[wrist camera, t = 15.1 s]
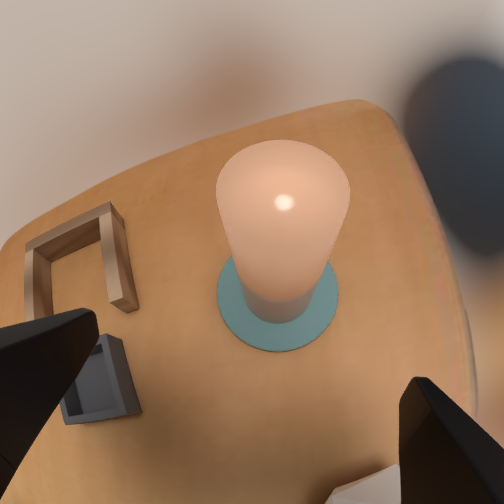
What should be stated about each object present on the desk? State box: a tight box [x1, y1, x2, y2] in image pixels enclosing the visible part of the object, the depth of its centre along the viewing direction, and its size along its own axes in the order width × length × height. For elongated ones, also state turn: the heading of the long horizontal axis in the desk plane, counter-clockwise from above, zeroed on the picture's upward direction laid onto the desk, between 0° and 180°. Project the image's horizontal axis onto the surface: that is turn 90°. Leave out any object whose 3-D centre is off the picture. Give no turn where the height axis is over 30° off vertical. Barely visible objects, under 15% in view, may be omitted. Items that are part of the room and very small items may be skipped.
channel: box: [24, 201, 139, 322], centre depth 22 cm, size 9×10×3 cm
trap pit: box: [60, 334, 142, 425], centre depth 18 cm, size 6×6×2 cm
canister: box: [216, 140, 350, 324], centre depth 16 cm, size 5×5×12 cm
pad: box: [217, 256, 338, 352], centre depth 22 cm, size 9×9×1 cm
